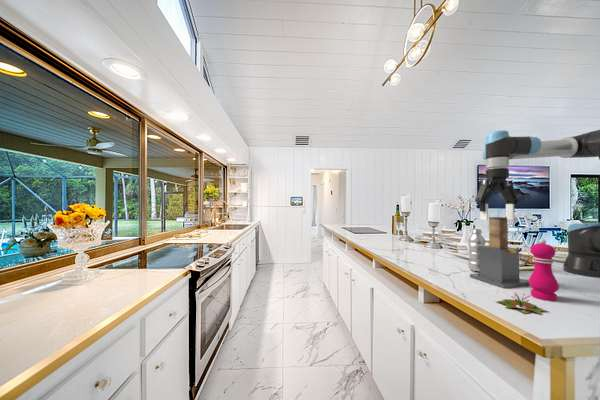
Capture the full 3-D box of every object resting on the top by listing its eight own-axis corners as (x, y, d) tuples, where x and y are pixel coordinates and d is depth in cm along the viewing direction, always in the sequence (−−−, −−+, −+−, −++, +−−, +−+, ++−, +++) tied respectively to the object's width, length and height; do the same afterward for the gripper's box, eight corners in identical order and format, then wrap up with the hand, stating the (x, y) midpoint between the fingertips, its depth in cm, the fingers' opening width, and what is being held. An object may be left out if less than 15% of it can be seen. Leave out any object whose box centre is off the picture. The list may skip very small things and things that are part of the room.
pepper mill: (565, 302, 78) (564, 240, 78) (539, 300, 79) (538, 240, 79) (547, 294, 85) (546, 237, 85) (523, 292, 86) (522, 237, 86)
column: (497, 275, 102) (496, 217, 102) (508, 278, 97) (507, 217, 98) (489, 275, 101) (488, 217, 101) (500, 278, 96) (499, 217, 97)
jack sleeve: (495, 275, 107) (494, 244, 108) (531, 285, 94) (530, 249, 94) (469, 277, 104) (469, 245, 105) (503, 288, 91) (503, 251, 91)
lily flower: (516, 299, 81) (516, 286, 81) (560, 316, 69) (560, 300, 69) (486, 302, 79) (486, 288, 79) (525, 319, 67) (525, 302, 68)
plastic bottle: (468, 268, 118) (467, 228, 119) (485, 270, 114) (484, 229, 115) (468, 271, 113) (467, 229, 114) (486, 274, 109) (485, 230, 110)
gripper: (510, 171, 106) (510, 218, 106) (464, 168, 101) (464, 219, 100) (530, 168, 99) (530, 219, 99) (481, 166, 94) (481, 220, 93)
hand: (497, 219), depth 100 cm, fingers open, 13 cm apart
